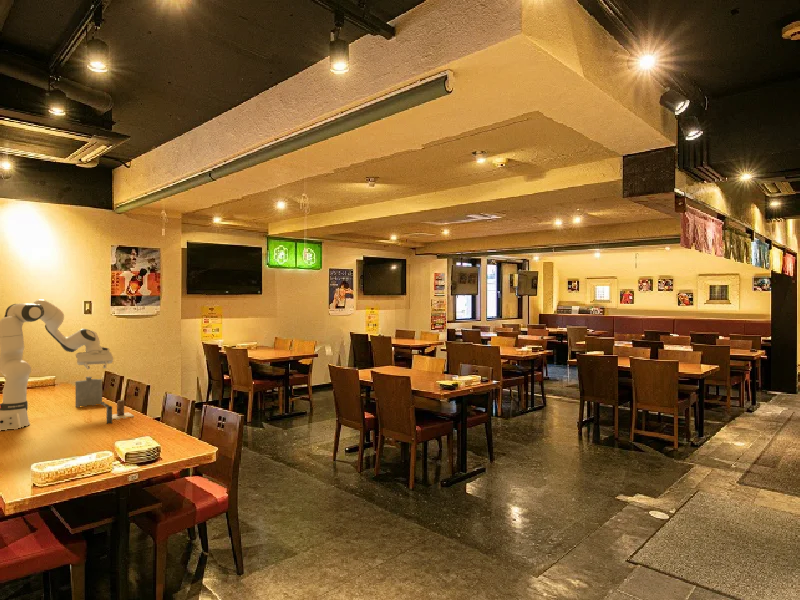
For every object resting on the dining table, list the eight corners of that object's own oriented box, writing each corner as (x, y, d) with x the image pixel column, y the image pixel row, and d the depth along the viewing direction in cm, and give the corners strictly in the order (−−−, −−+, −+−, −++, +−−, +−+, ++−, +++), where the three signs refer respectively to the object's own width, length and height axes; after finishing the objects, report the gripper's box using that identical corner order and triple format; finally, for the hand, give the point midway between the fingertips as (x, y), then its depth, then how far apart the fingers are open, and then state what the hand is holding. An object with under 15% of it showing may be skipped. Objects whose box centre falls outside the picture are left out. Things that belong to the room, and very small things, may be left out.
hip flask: (75, 407, 349) (75, 378, 349) (74, 406, 352) (74, 377, 352) (102, 404, 359) (102, 376, 359) (101, 403, 362) (101, 375, 363)
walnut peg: (117, 416, 318) (118, 401, 318) (116, 415, 321) (116, 400, 321) (124, 415, 320) (125, 400, 320) (123, 414, 323) (123, 400, 323)
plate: (112, 420, 312) (112, 418, 312) (107, 416, 321) (107, 415, 321) (133, 417, 320) (133, 415, 320) (128, 413, 329) (128, 412, 329)
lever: (107, 423, 302) (107, 406, 302) (100, 418, 316) (100, 401, 316) (112, 423, 304) (112, 405, 304) (104, 418, 317) (104, 401, 317)
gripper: (76, 349, 328) (78, 366, 321) (111, 348, 342) (115, 364, 335) (74, 355, 332) (77, 372, 324) (110, 354, 345) (113, 370, 338)
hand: (96, 368), depth 329 cm, fingers open, 8 cm apart
